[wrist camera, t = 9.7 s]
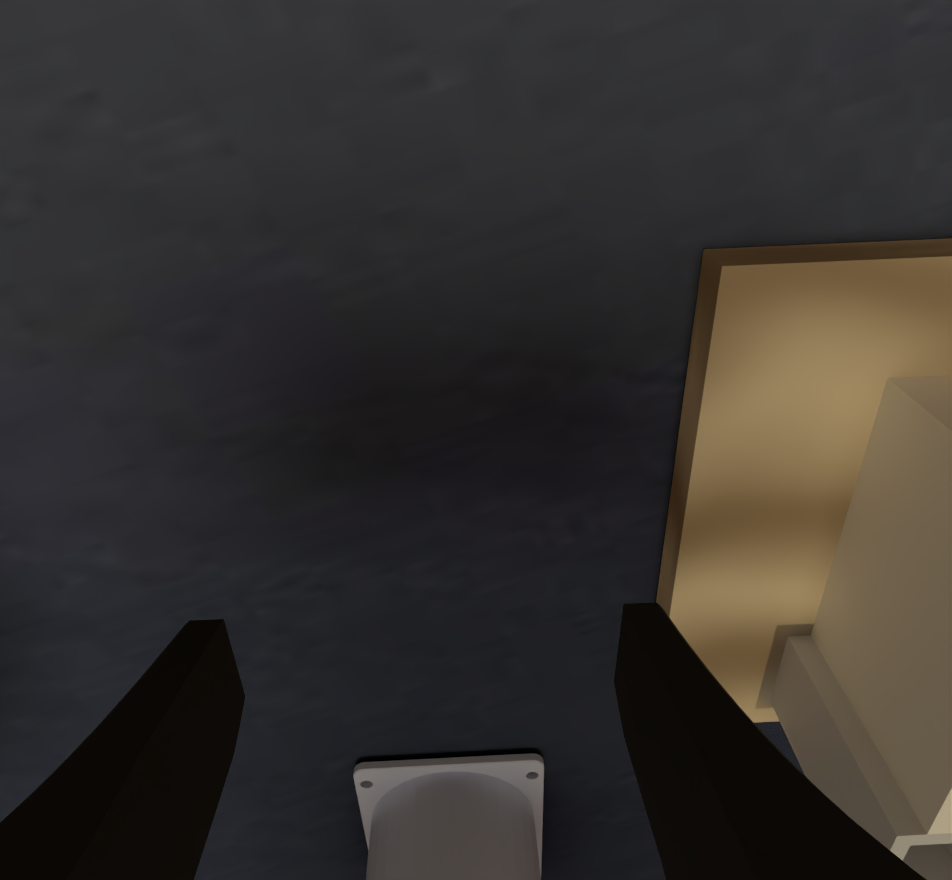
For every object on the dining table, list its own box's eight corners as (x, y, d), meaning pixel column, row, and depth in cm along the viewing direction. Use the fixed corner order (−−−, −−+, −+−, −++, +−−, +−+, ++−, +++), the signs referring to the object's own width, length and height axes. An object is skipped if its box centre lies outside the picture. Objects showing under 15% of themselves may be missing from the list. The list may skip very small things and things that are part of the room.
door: (860, 696, 26) (980, 895, 20) (769, 700, 26) (865, 902, 20) (980, 373, 20) (1216, 533, 14) (858, 379, 19) (1041, 541, 14)
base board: (939, 680, 28) (1020, 789, 24) (643, 695, 28) (676, 808, 24) (1144, 230, 19) (1329, 287, 15) (703, 249, 19) (772, 313, 15)
